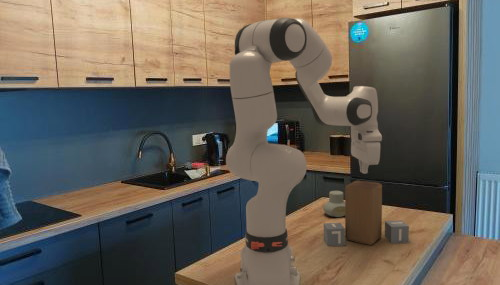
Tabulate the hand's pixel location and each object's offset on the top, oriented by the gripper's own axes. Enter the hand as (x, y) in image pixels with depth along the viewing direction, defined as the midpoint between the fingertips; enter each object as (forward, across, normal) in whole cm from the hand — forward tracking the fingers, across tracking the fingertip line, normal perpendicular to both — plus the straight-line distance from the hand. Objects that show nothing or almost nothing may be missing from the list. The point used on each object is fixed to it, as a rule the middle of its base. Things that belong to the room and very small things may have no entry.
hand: (363, 172), depth 133 cm
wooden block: (+24, 0, 0) cm, 24 cm away
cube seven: (+24, +2, -11) cm, 26 cm away
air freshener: (+24, -27, -3) cm, 36 cm away
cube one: (+24, +2, +11) cm, 26 cm away
